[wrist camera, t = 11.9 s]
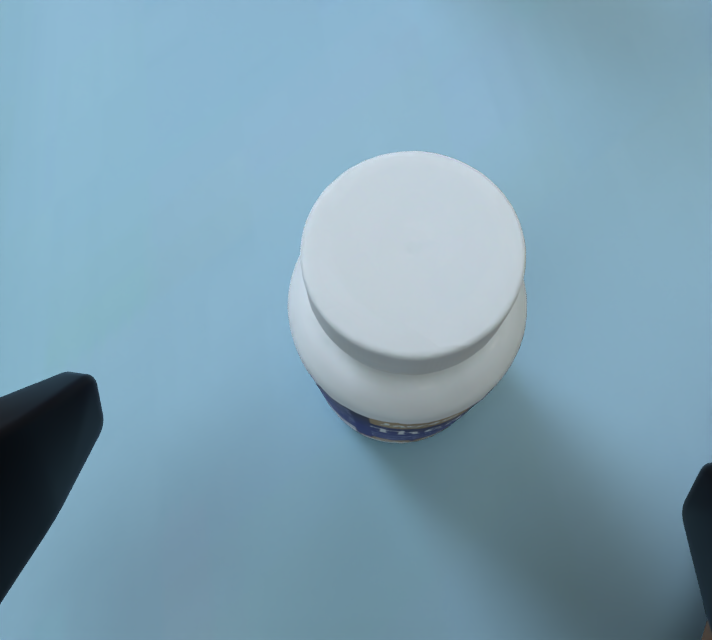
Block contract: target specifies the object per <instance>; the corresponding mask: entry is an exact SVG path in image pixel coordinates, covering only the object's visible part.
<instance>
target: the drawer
mask: <svg viewBox="0 0 712 640" xmlns="http://www.w3.org/2000/svg"><path fill="white" fill-rule="evenodd" d="M701 640H712V632H711V629H710V626H709V623H708V619H707V622H706V626H705V629H704V632H703V635H702V638H701Z"/></svg>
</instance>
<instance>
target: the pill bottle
mask: <svg viewBox="0 0 712 640" xmlns="http://www.w3.org/2000/svg"><path fill="white" fill-rule="evenodd" d="M525 264H526V247H525V240H524V236H523V232H522V228H521V225H520V222H519V219H518V217H517V215H516V213H515V211H514V209H513V207H512V205H511V204H510V202H509V201H508V199H507V198H506V197H505V195H504V194H503V193H502V191H501V190H500V189H499V188H498V187H497V186H496V185H495V184H494V183H493V182H492V181H491V180H489V179H488V178H487V177H486V176H485V175H483V174H482V173H481V172H479V171H477V170H476V169H474V168H472V167H470V166H469V165H467V164H465V163H463V162H461V161H458V160H456V159H453V158H450V157H448V156H444V155H440V154H437V153H430V152H422V151H405V152H396V153H389V154H384V155H380V156H376V157H374V158H371V159H368V160H365V161H363V162H361V163H359V164H357V165H355V166H354V167H352V168H350V169H348V170H347V171H345V172H344V173H342V174H341V175H340V176H339V177H338V178H336V179H335V180H334V181H333V182H332V183H331V184H330V185H329V186H328V187H327V188H326V189H325V190H324V191H323V192H322V194H321V195H320V197H319V198H318V200H317V201H316V202H315V204H314V206H313V208H312V210H311V212H310V214H309V216H308V218H307V220H306V223H305V226H304V229H303V234H302V240H301V248H300V256H299V258H298V260H297V263H296V265H295V268H294V271H293V274H292V277H291V282H290V287H289V293H288V317H289V325H290V329H291V334H292V337H293V340H294V344H295V346H296V349H297V351H298V354H299V356H300V358H301V361H302V363H303V364H304V366H305V368H306V369H307V371H308V372H309V374H310V375H311V377H312V378H313V380H314V381H315V382H316V384H317V386H318V388H319V389H320V390H321V392H322V394H323V395H324V397H325V398H326V400H327V402H328V404H329V405H330V407H331V408H332V409H333V410H334V412H335V413H336V414H337V415H338V416H339V417H340V418H341V420H343V421H344V422H345V423H346V424H347V425H349V426H350V427H351V428H352V429H354V430H355V431H357V432H359V433H360V434H362V435H364V436H366V437H369V438H372V439H375V440H378V441H383V442H389V443H409V442H415V441H419V440H423V439H426V438H428V437H431V436H433V435H435V434H437V433H439V432H440V431H442V430H444V429H445V428H447V427H448V426H450V425H451V424H452V423H453V422H455V421H456V420H458V419H459V418H460V417H461V416H462V415H464V414H465V413H466V412H467V411H468V410H469V409H470V408H472V407H473V406H474V405H475V404H477V403H478V402H479V401H481V400H482V399H483V398H484V397H485V396H486V395H487V394H488V393H489V392H490V391H491V390H492V389H493V388H494V387H495V386H496V385H497V383H498V382H499V381H500V380H501V378H502V377H503V376H504V375H505V373H506V372H507V370H508V369H509V367H510V366H511V364H512V362H513V360H514V358H515V356H516V354H517V352H518V350H519V348H520V345H521V341H522V338H523V335H524V330H525V324H526V317H527V298H526V290H525V284H524V280H523V278H524V273H525Z"/></svg>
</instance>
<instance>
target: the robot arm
mask: <svg viewBox="0 0 712 640" xmlns="http://www.w3.org/2000/svg"><path fill="white" fill-rule="evenodd" d="M102 426H103V413H102V408H101V402H100V397H99V392H98V387H97V383H96V380H95V379H94V377H92V376H91V375H88V374H81V373H74V372H64V373H61V374H58V375H56V376H53V377H51V378H48V379H46V380H43V381H41V382H38V383H35V384H33V385H30V386H28V387H25V388H23V389H20V390H18V391H15V392H13V393H10V394H8V395H5V396H3V397H0V603H1V602H2V600H3V599H4V597H5V596H6V594H7V593H8V591H9V590H10V588H11V587H12V585H13V584H14V582H15V580H16V579H17V577H18V576H19V574H20V573H21V571H22V570H23V568H24V567H25V565H26V564H27V562H28V561H29V559H30V558H31V556H32V555H33V553H34V551H35V550H36V548H37V547H38V545H39V544H40V542H41V541H42V539H43V538H44V536H45V535H46V533H47V531H48V530H49V528H50V527H51V525H52V523H53V522H54V520H55V519H56V517H57V515H58V513H59V511H60V510H61V508H62V506H63V504H64V502H65V500H66V498H67V497H68V495H69V493H70V491H71V489H72V487H73V485H74V483H75V481H76V479H77V477H78V475H79V473H80V471H81V470H82V468H83V466H84V464H85V462H86V460H87V458H88V456H89V454H90V452H91V450H92V448H93V446H94V444H95V442H96V441H97V439H98V437H99V435H100V432H101V430H102ZM682 517H683V523H684V527H685V531H686V535H687V539H688V543H689V547H690V552H691V556H692V560H693V564H694V568H695V572H696V576H697V580H698V584H699V588H700V592H701V596H702V600H703V604H704V608H705V612H706V615H707V619H708V623H709V626H710V629H711V632H712V463H707V464H706V465H704V466H703V467H702V469H701V470H700V472H699V474H698V476H697V478H696V480H695V482H694V484H693V486H692V488H691V490H690V492H689V494H688V496H687V498H686V500H685V502H684V505H683V510H682Z"/></svg>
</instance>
